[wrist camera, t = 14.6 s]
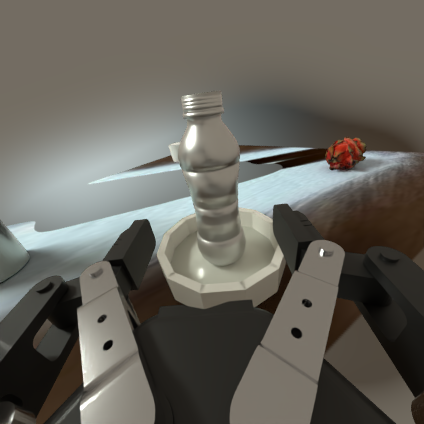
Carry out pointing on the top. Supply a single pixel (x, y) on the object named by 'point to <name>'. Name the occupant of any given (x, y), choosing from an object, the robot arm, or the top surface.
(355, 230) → the top surface
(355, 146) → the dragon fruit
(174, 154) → the white cup
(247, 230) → the bowl
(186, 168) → the plastic bottle
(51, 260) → the top surface
